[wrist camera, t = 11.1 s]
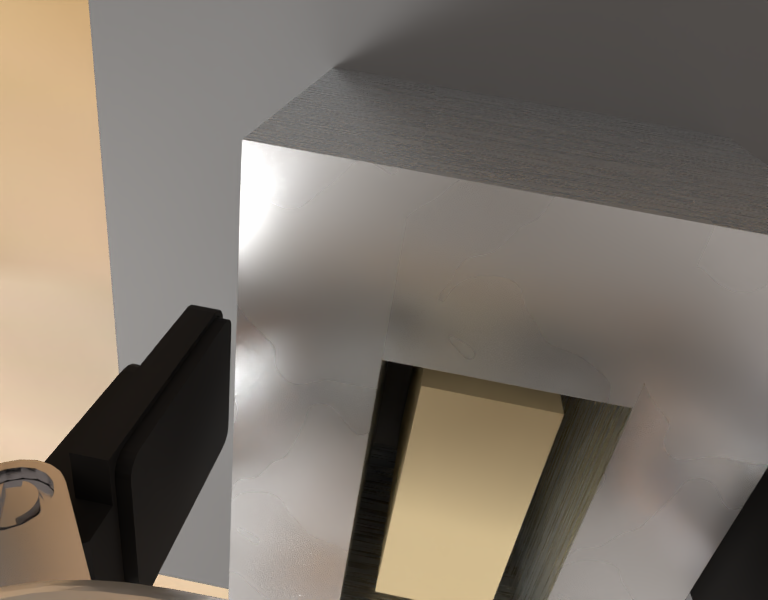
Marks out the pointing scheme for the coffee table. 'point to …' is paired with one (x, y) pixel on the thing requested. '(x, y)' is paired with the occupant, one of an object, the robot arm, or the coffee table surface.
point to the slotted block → (496, 330)
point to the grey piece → (412, 63)
